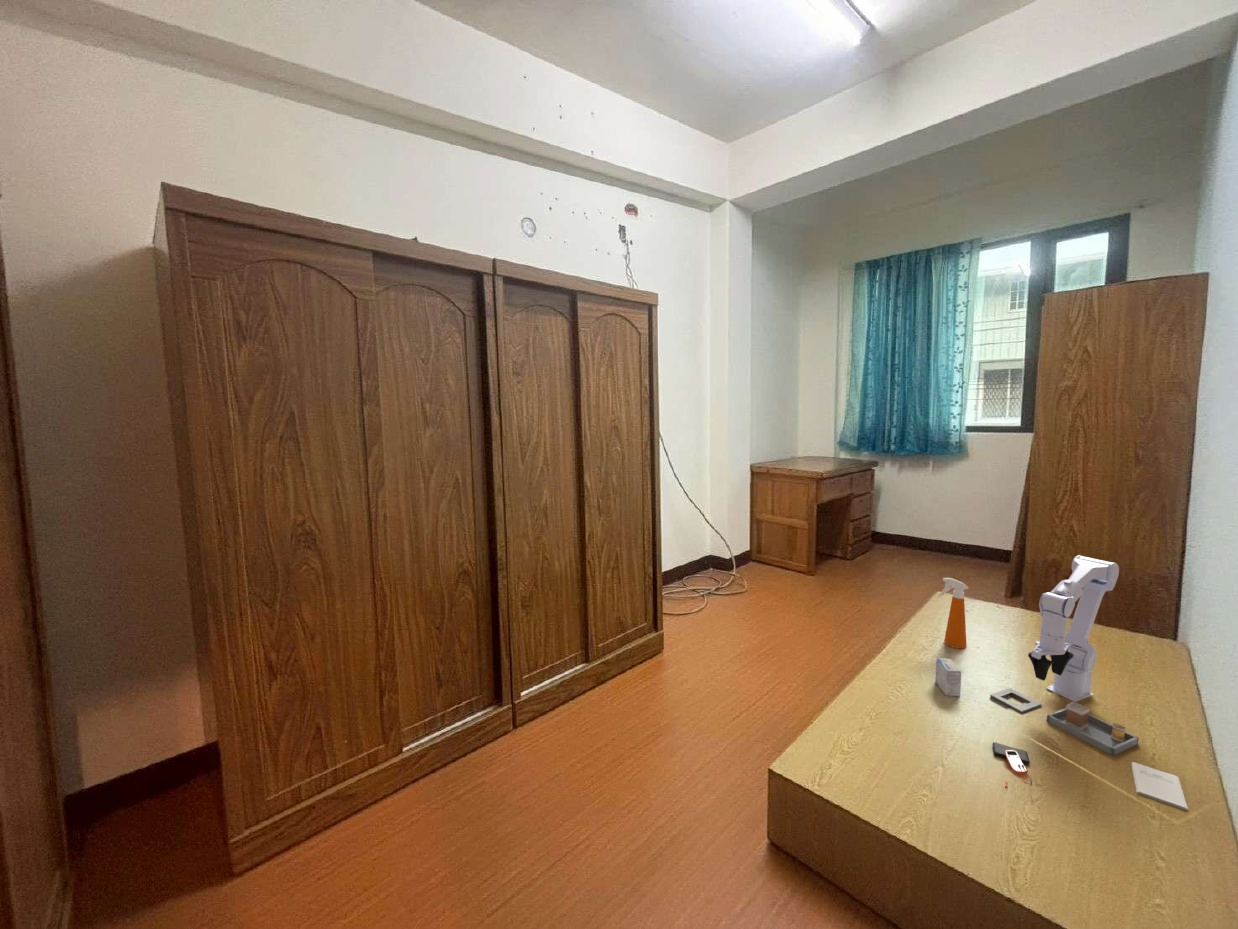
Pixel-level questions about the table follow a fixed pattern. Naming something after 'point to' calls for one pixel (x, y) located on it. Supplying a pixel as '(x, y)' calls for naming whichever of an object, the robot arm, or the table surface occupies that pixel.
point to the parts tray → (1094, 733)
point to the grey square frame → (1010, 692)
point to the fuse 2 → (1118, 732)
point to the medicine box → (948, 677)
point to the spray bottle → (955, 614)
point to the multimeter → (1013, 758)
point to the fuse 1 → (1077, 716)
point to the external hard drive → (1158, 785)
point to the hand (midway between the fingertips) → (1048, 676)
